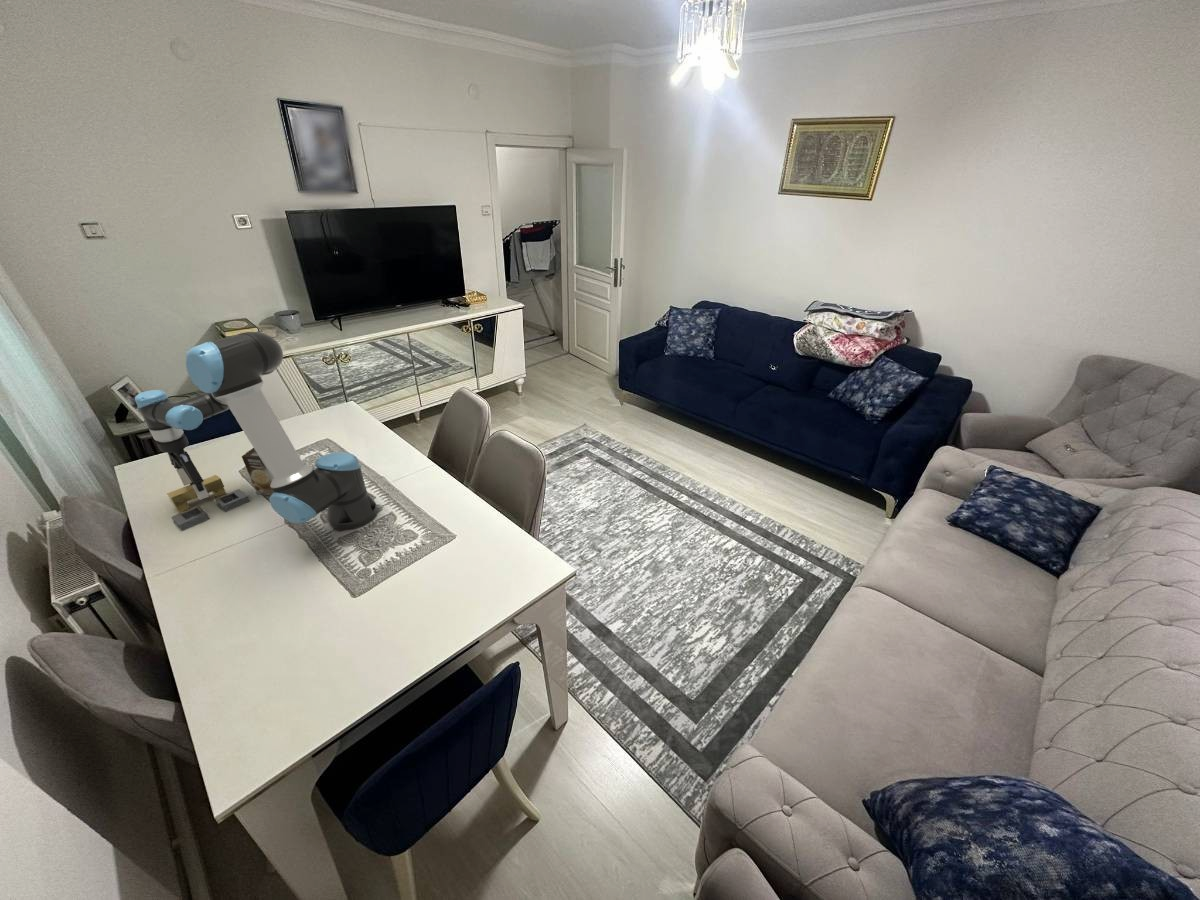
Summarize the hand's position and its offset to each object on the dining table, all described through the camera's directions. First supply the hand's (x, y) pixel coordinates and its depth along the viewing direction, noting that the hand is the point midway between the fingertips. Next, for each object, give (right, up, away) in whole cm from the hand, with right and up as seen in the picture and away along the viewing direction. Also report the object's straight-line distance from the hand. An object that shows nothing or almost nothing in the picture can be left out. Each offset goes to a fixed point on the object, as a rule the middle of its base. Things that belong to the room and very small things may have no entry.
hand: (196, 490), depth 166 cm
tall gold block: (0, -4, +2) cm, 4 cm away
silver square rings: (+8, -7, -3) cm, 11 cm away
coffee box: (+21, -1, +9) cm, 23 cm away
